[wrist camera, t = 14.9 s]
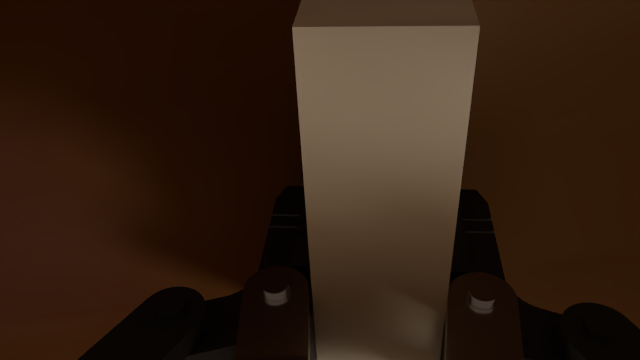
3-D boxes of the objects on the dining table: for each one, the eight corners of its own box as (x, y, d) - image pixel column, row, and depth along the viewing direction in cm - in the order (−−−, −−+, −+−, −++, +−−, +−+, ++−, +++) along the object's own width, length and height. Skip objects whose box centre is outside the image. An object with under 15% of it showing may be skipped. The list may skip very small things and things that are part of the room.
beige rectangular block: (236, -67, 12) (158, 28, 8) (543, -74, 11) (628, 25, 7) (281, 305, 18) (251, 461, 14) (478, 314, 18) (504, 479, 14)
